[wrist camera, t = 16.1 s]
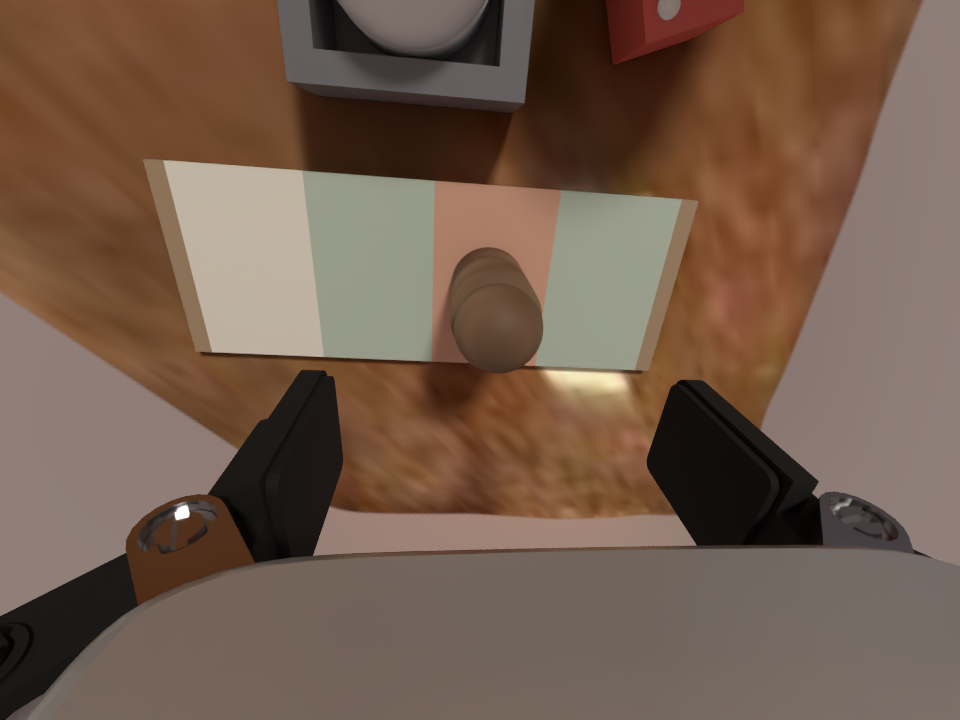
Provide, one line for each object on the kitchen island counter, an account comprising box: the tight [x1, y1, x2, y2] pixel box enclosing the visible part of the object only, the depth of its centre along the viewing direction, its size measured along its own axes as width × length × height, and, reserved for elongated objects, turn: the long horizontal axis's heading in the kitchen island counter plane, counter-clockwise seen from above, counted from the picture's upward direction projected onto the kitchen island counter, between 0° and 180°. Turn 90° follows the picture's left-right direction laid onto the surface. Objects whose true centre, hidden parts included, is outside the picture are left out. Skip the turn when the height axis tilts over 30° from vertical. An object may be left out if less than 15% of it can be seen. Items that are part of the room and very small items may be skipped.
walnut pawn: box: [450, 247, 543, 373], centre depth 20 cm, size 4×4×9 cm
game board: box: [143, 159, 699, 371], centre depth 24 cm, size 30×11×1 cm, turn 86°
